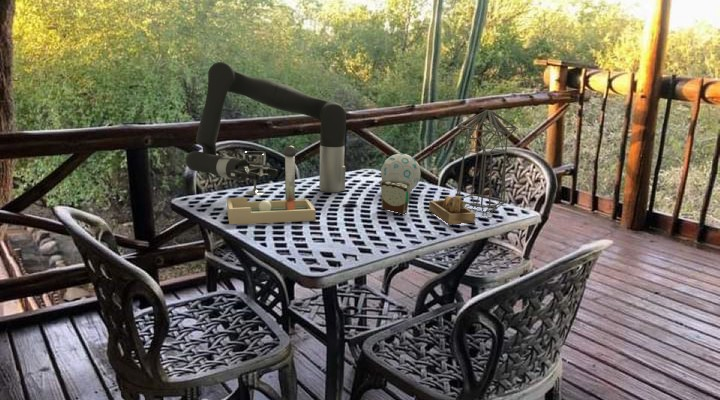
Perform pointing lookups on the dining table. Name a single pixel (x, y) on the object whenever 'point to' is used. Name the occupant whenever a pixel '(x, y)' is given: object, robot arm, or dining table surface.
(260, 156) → the wine glass
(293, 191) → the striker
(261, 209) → the ball
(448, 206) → the lion figurine
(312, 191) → the dining table surface
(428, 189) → the dining table surface
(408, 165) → the puzzle ball
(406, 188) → the food container
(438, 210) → the figurine crate
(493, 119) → the geometric lantern
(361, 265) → the dining table surface
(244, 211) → the tray
